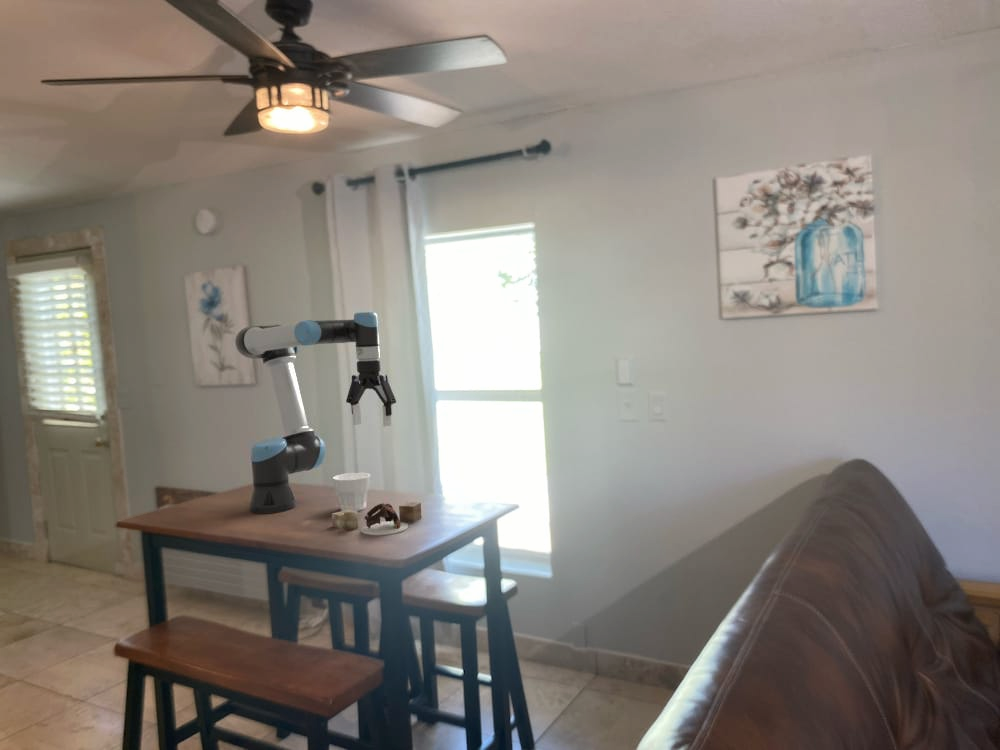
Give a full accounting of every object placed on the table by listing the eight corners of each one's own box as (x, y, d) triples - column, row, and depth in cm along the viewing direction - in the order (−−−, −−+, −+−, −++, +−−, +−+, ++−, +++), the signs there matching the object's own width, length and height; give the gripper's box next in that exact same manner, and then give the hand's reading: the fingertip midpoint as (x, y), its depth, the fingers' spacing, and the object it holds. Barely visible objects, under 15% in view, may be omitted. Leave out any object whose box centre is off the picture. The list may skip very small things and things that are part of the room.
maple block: (332, 526, 224) (331, 513, 224) (349, 522, 228) (348, 509, 228) (339, 528, 221) (339, 515, 221) (356, 524, 225) (355, 511, 225)
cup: (346, 515, 237) (344, 481, 236) (327, 509, 246) (325, 476, 245) (379, 507, 245) (377, 475, 244) (360, 502, 254) (358, 470, 253)
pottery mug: (400, 533, 213) (384, 511, 211) (373, 546, 215) (358, 525, 212) (406, 512, 224) (392, 491, 222) (381, 525, 226) (366, 505, 224)
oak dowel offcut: (342, 529, 220) (341, 512, 220) (351, 525, 223) (350, 509, 223) (351, 530, 218) (350, 514, 217) (361, 527, 221) (360, 511, 221)
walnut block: (399, 521, 226) (398, 505, 225) (407, 517, 230) (406, 501, 230) (414, 522, 224) (413, 506, 224) (421, 518, 229) (420, 502, 228)
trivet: (351, 531, 216) (351, 530, 216) (384, 520, 228) (384, 519, 228) (385, 537, 208) (385, 536, 208) (418, 525, 220) (418, 524, 220)
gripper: (333, 361, 240) (336, 425, 241) (388, 360, 226) (392, 428, 227) (349, 359, 246) (353, 422, 247) (404, 358, 232) (408, 424, 233)
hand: (372, 425), depth 237 cm, fingers open, 13 cm apart
